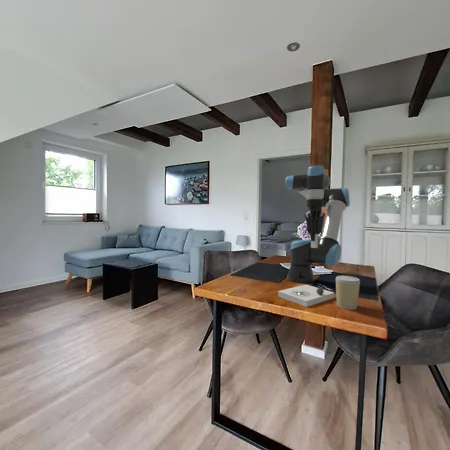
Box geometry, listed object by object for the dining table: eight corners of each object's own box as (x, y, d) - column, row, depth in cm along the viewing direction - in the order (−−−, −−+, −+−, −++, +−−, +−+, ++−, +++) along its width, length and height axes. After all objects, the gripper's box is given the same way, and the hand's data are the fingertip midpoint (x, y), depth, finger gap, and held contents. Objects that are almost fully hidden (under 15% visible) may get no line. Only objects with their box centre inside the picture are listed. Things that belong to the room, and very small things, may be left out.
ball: (319, 293, 117) (319, 286, 117) (324, 294, 115) (325, 288, 114) (315, 294, 115) (315, 287, 115) (320, 296, 113) (320, 289, 113)
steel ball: (300, 294, 119) (298, 289, 117) (306, 296, 116) (304, 292, 114) (296, 299, 117) (294, 294, 116) (302, 302, 115) (300, 297, 113)
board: (305, 289, 131) (305, 284, 131) (334, 298, 118) (334, 292, 118) (278, 296, 120) (278, 291, 120) (306, 306, 107) (306, 301, 107)
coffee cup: (351, 302, 113) (352, 275, 112) (364, 310, 103) (365, 281, 103) (331, 302, 112) (331, 275, 112) (341, 310, 103) (342, 281, 102)
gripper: (317, 199, 129) (315, 245, 131) (300, 198, 122) (299, 247, 123) (330, 198, 123) (329, 247, 124) (313, 198, 116) (312, 249, 117)
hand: (314, 247), depth 124 cm, fingers closed
